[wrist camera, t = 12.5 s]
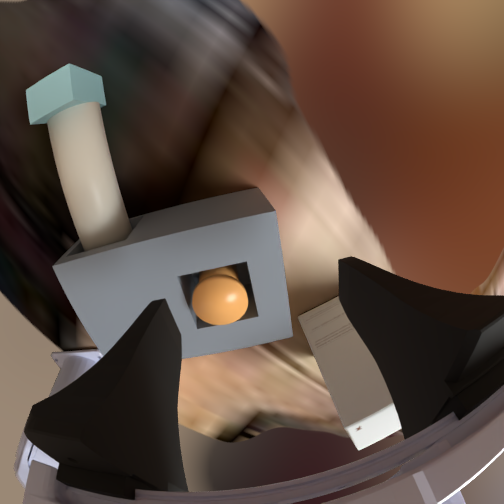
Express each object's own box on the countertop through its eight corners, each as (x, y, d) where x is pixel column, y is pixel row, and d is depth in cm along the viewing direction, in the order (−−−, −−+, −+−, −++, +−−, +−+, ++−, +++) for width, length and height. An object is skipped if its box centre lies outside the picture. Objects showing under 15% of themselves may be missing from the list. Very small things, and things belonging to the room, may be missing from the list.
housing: (275, 289, 23) (292, 336, 18) (126, 319, 23) (110, 366, 17) (258, 187, 19) (275, 210, 14) (87, 231, 19) (52, 266, 13)
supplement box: (316, 357, 28) (355, 453, 17) (295, 314, 25) (343, 430, 14) (374, 328, 28) (429, 412, 16) (364, 280, 24) (440, 374, 13)
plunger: (245, 284, 20) (252, 318, 16) (202, 293, 19) (201, 329, 16) (236, 244, 18) (242, 274, 15) (190, 254, 18) (185, 286, 14)
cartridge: (141, 230, 19) (121, 260, 14) (99, 241, 19) (73, 273, 14) (103, 75, 14) (72, 62, 9) (61, 95, 13) (23, 91, 9)
